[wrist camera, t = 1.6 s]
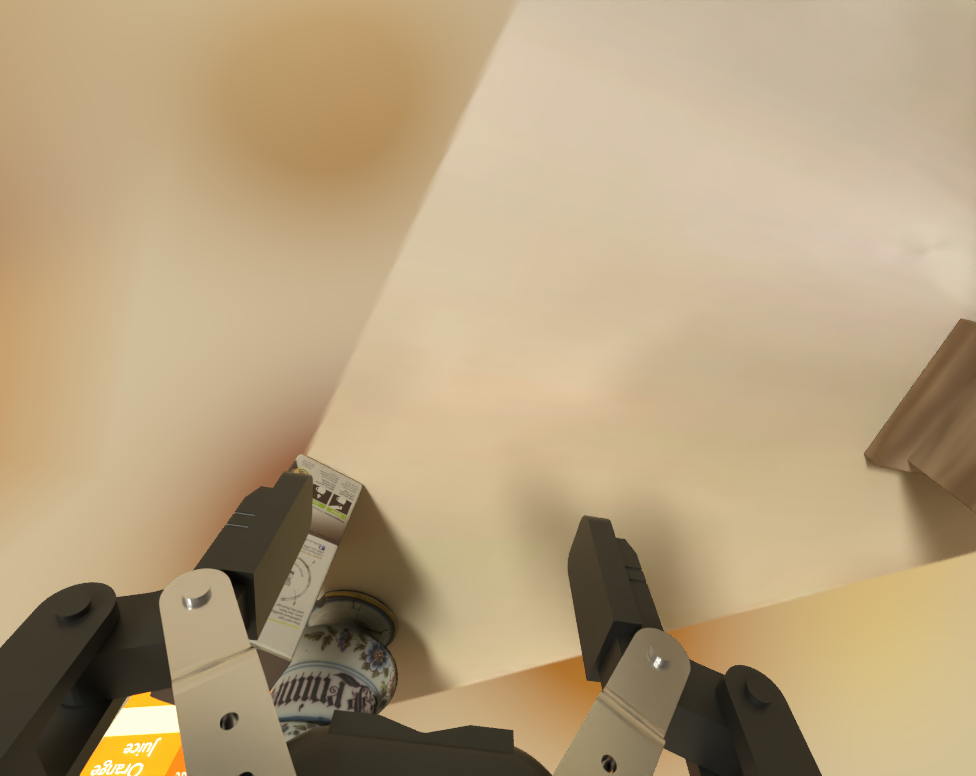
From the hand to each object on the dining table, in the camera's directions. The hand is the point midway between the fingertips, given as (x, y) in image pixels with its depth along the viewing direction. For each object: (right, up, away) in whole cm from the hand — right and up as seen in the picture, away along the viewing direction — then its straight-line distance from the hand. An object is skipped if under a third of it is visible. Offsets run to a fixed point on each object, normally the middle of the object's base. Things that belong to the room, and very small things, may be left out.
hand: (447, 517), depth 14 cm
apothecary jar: (-13, -21, +37) cm, 44 cm away
